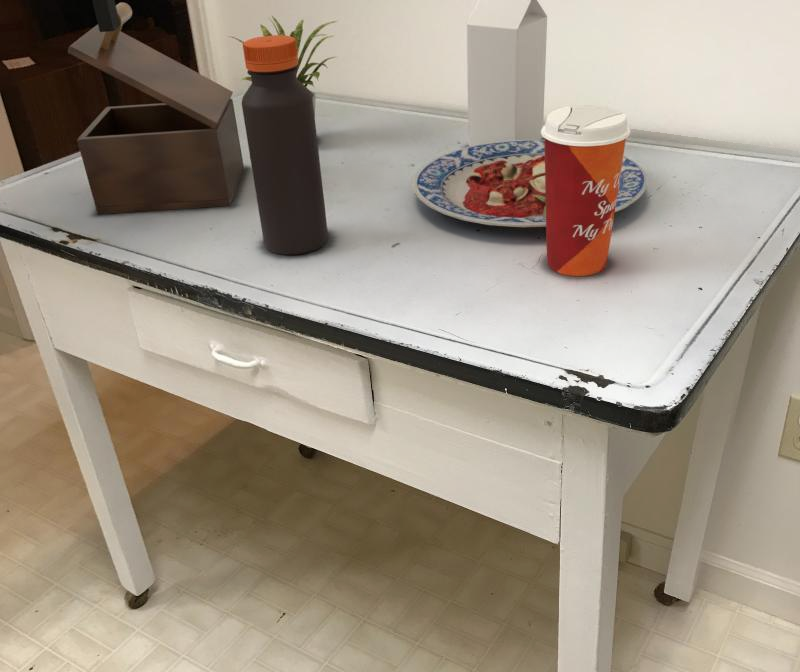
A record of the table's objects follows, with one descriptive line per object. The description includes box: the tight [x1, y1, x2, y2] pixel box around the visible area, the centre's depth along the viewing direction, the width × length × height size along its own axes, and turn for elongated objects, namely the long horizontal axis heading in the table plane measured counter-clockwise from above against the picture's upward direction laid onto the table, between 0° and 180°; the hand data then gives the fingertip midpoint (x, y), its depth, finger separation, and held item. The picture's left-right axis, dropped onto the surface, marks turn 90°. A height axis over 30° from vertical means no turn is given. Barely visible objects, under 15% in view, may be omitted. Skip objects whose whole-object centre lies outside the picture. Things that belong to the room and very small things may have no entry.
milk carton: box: [466, 0, 548, 147], centre depth 106 cm, size 7×7×19 cm
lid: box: [67, 1, 233, 129], centre depth 96 cm, size 16×13×5 cm
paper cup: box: [541, 104, 631, 277], centre depth 78 cm, size 8×8×14 cm
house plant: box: [227, 15, 338, 117], centre depth 112 cm, size 14×14×16 cm
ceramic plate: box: [412, 139, 648, 228], centre depth 96 cm, size 26×26×3 cm
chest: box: [76, 98, 245, 215], centre depth 102 cm, size 16×13×9 cm
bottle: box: [241, 34, 329, 256], centre depth 84 cm, size 7×7×20 cm
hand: (110, 28), depth 90 cm, fingers closed
